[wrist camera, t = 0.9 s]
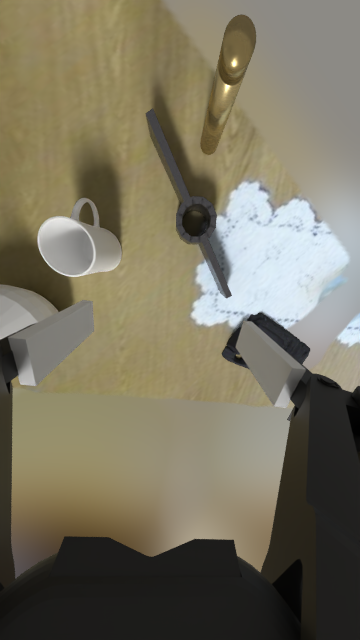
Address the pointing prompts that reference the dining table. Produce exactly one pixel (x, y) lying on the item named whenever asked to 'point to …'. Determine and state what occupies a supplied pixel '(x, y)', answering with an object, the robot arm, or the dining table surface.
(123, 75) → the dining table surface
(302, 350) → the dark slate chunk
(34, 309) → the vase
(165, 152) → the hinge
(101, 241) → the mug
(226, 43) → the pin
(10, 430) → the robot arm
